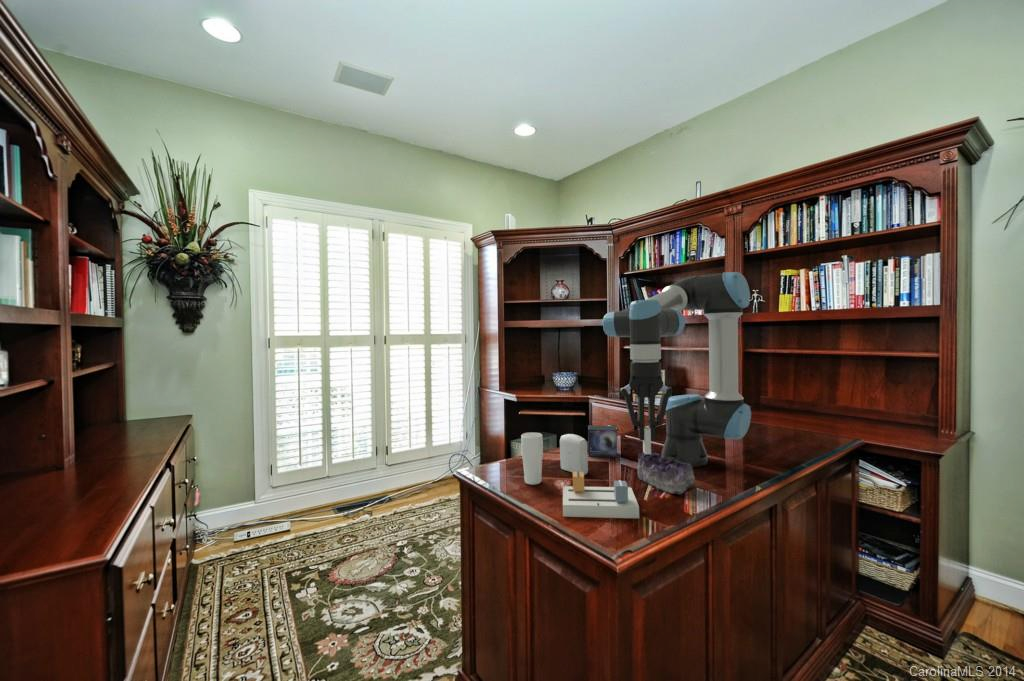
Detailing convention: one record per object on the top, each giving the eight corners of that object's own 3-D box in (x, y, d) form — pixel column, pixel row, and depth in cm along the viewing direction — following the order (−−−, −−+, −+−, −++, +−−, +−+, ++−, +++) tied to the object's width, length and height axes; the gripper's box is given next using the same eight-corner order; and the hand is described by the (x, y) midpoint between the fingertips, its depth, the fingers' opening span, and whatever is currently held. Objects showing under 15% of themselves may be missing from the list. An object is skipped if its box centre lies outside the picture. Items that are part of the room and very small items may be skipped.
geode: (623, 478, 137) (624, 446, 137) (649, 476, 142) (651, 446, 143) (674, 497, 119) (675, 460, 119) (702, 494, 124) (703, 459, 125)
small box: (588, 457, 159) (587, 429, 159) (588, 452, 166) (587, 425, 166) (617, 457, 158) (617, 429, 157) (616, 452, 164) (615, 425, 164)
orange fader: (583, 486, 121) (583, 471, 121) (584, 491, 117) (584, 476, 117) (573, 485, 121) (572, 471, 121) (573, 491, 117) (572, 476, 117)
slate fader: (625, 495, 113) (625, 480, 113) (628, 502, 109) (627, 485, 109) (614, 495, 113) (613, 479, 113) (615, 501, 109) (615, 485, 109)
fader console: (631, 497, 121) (631, 486, 120) (639, 518, 108) (639, 505, 108) (563, 496, 123) (562, 485, 123) (563, 516, 110) (562, 504, 110)
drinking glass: (529, 487, 130) (527, 438, 130) (518, 481, 136) (517, 434, 136) (547, 483, 134) (546, 435, 133) (536, 477, 140) (535, 431, 139)
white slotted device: (558, 469, 147) (557, 433, 147) (567, 466, 150) (566, 431, 149) (581, 476, 139) (580, 438, 139) (590, 473, 142) (589, 436, 141)
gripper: (668, 359, 112) (669, 449, 113) (617, 360, 114) (619, 448, 115) (675, 361, 105) (677, 457, 105) (621, 362, 107) (622, 456, 107)
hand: (647, 452), depth 110 cm, fingers closed
